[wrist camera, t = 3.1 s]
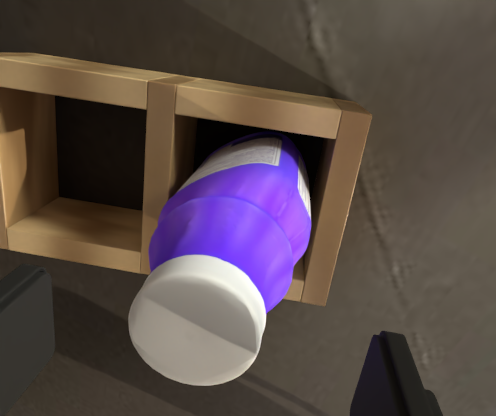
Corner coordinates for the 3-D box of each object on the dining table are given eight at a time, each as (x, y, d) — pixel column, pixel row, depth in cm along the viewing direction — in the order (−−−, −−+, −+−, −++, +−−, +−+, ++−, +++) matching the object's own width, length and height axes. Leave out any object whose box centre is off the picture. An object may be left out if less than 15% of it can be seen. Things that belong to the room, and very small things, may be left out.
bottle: (224, 225, 30) (139, 432, 13) (189, 156, 28) (45, 295, 12) (318, 190, 28) (349, 377, 12) (286, 113, 26) (272, 208, 10)
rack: (41, 211, 31) (-15, 246, 25) (32, 52, 27) (-38, 51, 21) (319, 259, 30) (325, 306, 24) (355, 101, 25) (372, 114, 20)
